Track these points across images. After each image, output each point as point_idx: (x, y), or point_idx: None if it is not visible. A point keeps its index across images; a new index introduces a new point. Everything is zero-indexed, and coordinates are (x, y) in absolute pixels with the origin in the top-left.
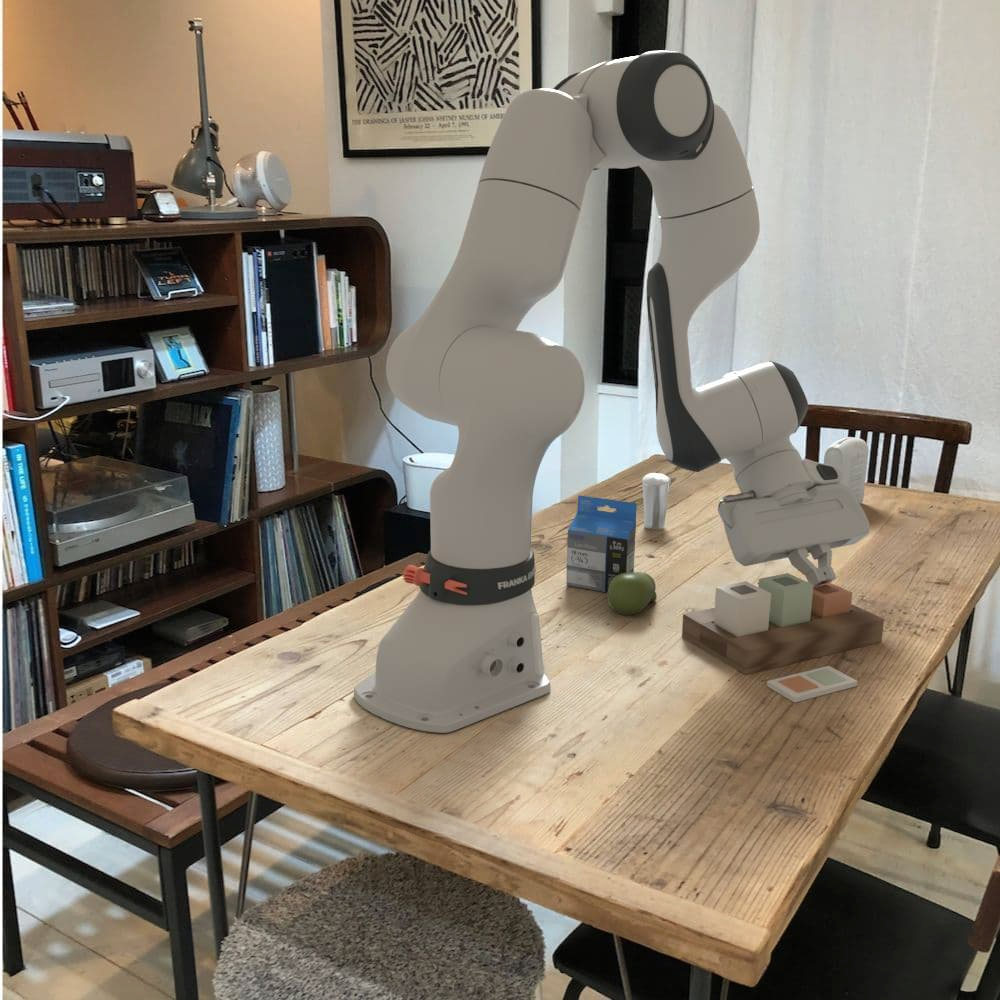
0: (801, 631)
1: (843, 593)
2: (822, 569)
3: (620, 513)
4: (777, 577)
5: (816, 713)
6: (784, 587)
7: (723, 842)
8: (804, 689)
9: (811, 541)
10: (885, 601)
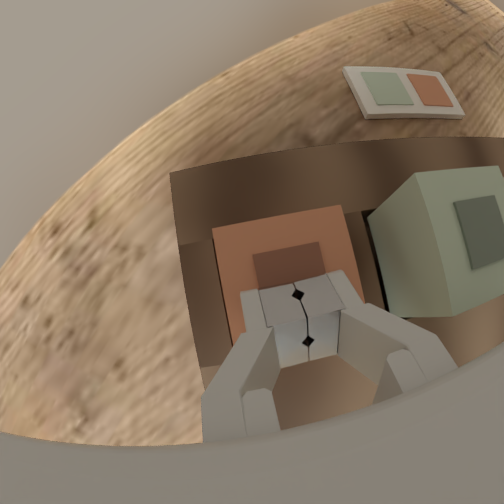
0: (413, 163)
1: (248, 229)
2: (307, 308)
3: None
4: (493, 278)
5: (417, 53)
6: (495, 186)
7: (485, 13)
8: (426, 76)
9: (390, 411)
10: (50, 388)
